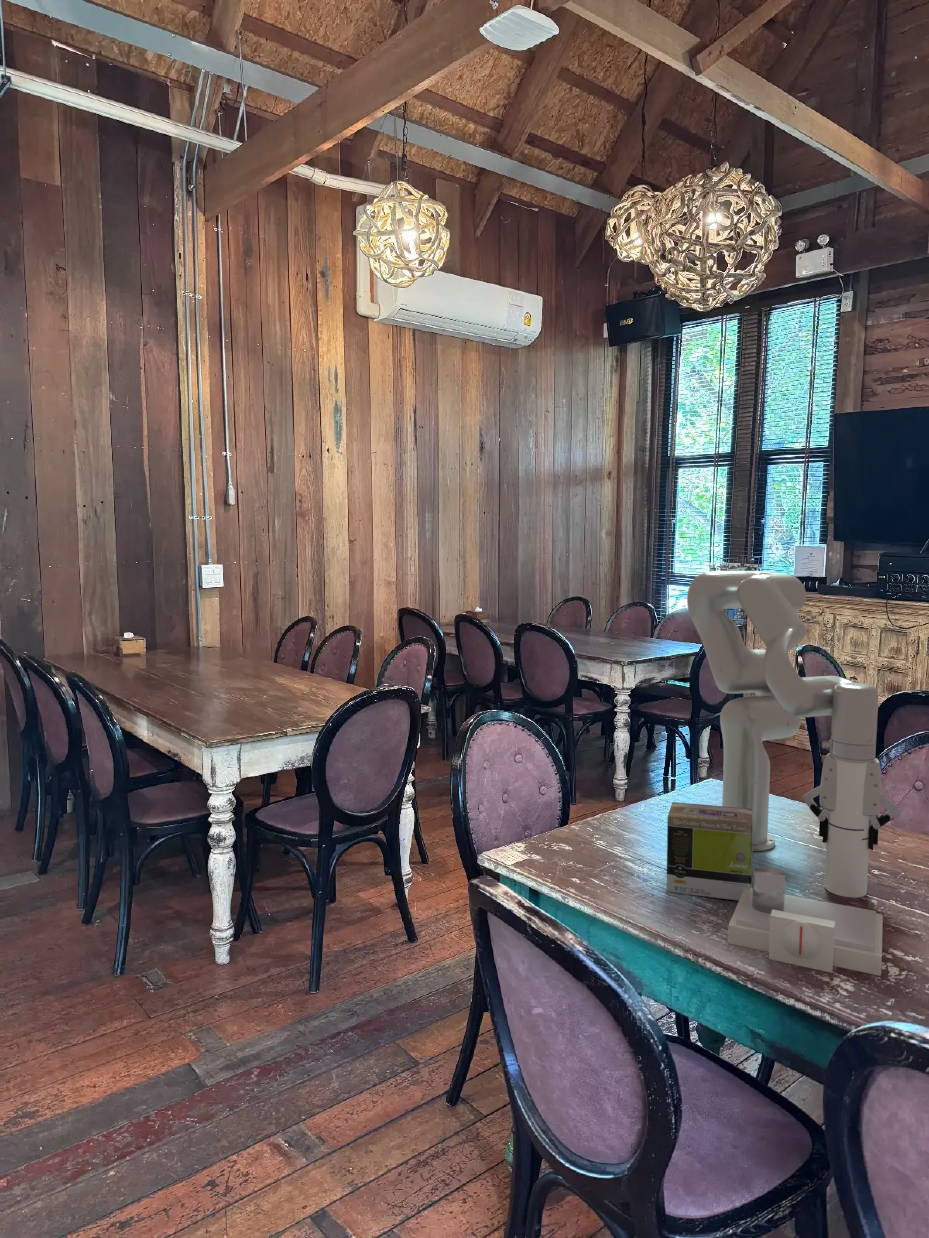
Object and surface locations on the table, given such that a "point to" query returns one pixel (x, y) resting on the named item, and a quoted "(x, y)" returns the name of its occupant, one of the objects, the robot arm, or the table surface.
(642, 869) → the table surface
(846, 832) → the cylindrical container
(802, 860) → the table surface
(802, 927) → the scale
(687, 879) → the tea box
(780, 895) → the shiny metallic cylinder
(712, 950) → the table surface
